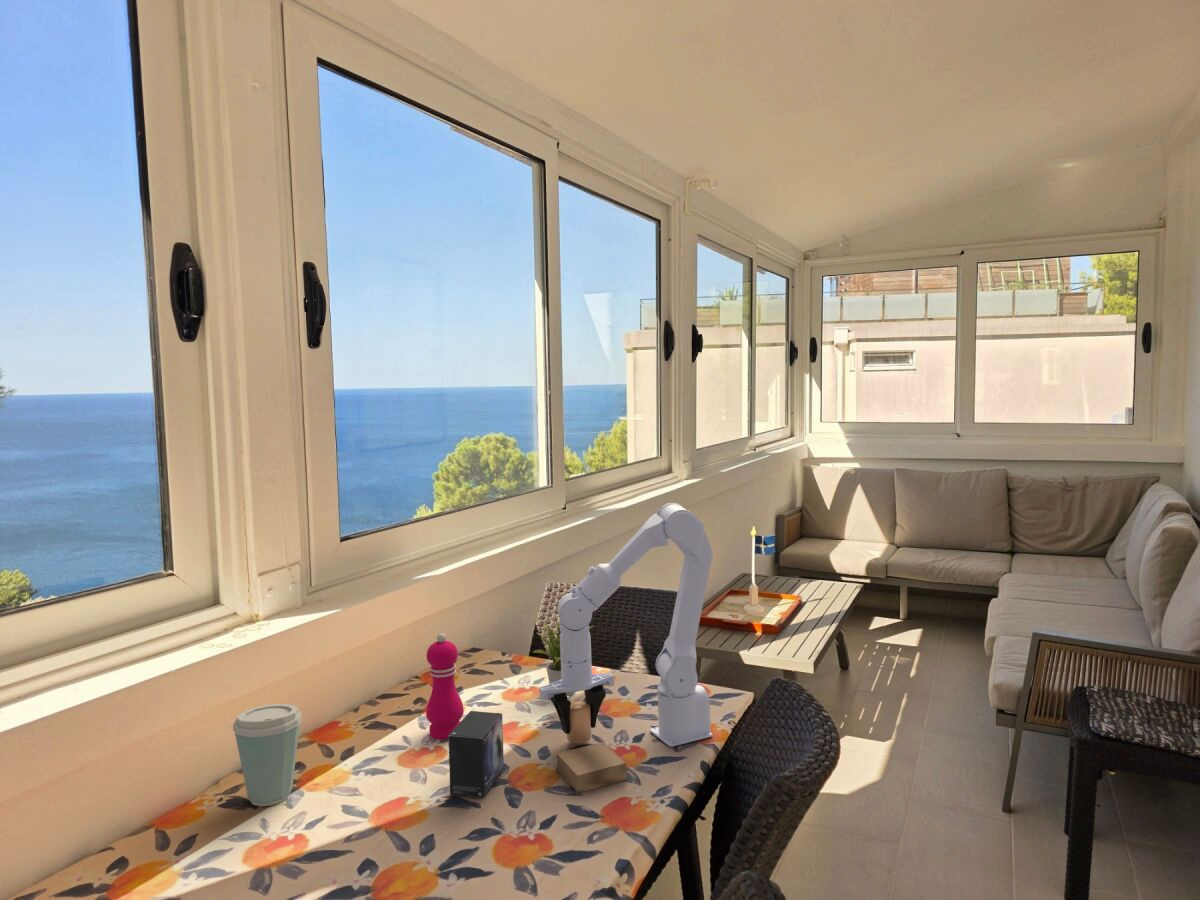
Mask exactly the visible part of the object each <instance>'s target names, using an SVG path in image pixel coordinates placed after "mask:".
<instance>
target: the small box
mask: <svg viewBox="0 0 1200 900" xmlns="http://www.w3.org/2000/svg"><path fill="white" fill-rule="evenodd" d="M460 721H461V722H460V723H459V724H458V725H457V726H456V728H455V729H454V730H453V731H452V732H451V733H450V734H449V735H448V764H449V765H448V767H449V796H452V797H465V798H476V799H485V797H486V796H487V794H488V793H489V792H490V790H491V788H492V787H493V786H494V784H495V783H496V781H497V780H498V779H499V777H500V776H501V774H502V773H503V772H504V770H505V763H504V762H505V761H504V760H505V758H504V755H505V754H504V731H503V729H504V727H503V725H504V724H503V723H504V722H503V713H499V712H486V711H479V710H470V711H469V712H468V713H467V714H466V716H465V717H463V719H462V720H460Z"/></svg>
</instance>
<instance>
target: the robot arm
mask: <svg viewBox="0 0 1200 900" xmlns="http://www.w3.org/2000/svg"><path fill="white" fill-rule="evenodd" d="M668 539H670V540H671V542H673V543H674V544H675V545H676V546H677V548H678V549H679V551H680V552H681V553H682V554H683V557H684V558H683V563H682V568H681V573H680V579H679V583H678V589H677V593H676V597H675V604H674V608H673V613H672V619H671V623H670V630H669V634H668V637H667V638H666V639H665V641H664V643H663V646H662V647H663V648H662V650H661V651H660V652H659V654H658V655H657V657H656V660H655V670H656V672H657V674H658V675H659V676H660V678H661V679H660V681H659V684H658V685H657V713H658V714H657V715H658V716H657V717H658V726H656V727H651V728H650V729H649V731H650V733H652V734H653V735H654V736H655V737H657V738H658V739H660V740H661V741H662V743H664V744H666V745H667V746H668V747H671V748H673V747H675V746H680V745H684V744H688V743H692V742H696V741H700V740H703V739H708V738H711V737H713V733H712V732H711V703H710V698H709V695H708V692H707V690H706V689H705V688H704V686H703V685H701V684H698V680H699V677H698V673H697V667H696V666H697V660H698V659H697V651H696V643H697V642H696V641H697V636H698V632H699V626H700V621H701V615H702V611H703V607H704V606H703V605H704V601H705V595H706V591H707V586H708V581H709V576H710V570H711V566H712V560H713V550H712V546H711V544H710V541H709V539H708V536H707V534H706V531H705V525H704V523H703V522H702V521H701V520H700V519H699V518H698V517H697V516H696V515H695V514H694V513H693V512H692V511H691V510H688V509H686V508H685V507H684V506H682V505H681V504H679V503H676V502H669V503H665V504H664V505H662V507H661V508H659V510H658V511H657V512H655V513H654V514H652V515H651V516H650V517H648V519H647V520H646V521H645V523H643V525H642V526H641V527H640V528H639V529H638V530H637V532H635V534H634V535H633V536H631V538H630V539H629V540H628V541H627V542H626V544H624V546H623V547H622V548H621V549H620V550H619V551H618V552H617V553H616V555H614V557H613V558H612V559H610V561H609V562H607V563H598V564H597V565H595V567H594V566H592V565H591V566H590V567H589V568H588V569H587V572H588V574H587V575H586V576H585V577H584V578H583V579H582V580H581V581H580V582H579V583H578V584H577V585H576V586H573V585H572V586H571V587H570V588H569V591H570V593H568V592H567V593H566V594H564V595H563V596H562V597H560V600H559V602H558V605H557V607H556V611H557V613H558V616H559V621H560V624H559V628H560V631H561V633H560V654H561V676H562V679H561V680H559V681H556V682H553V683H551V684H550V683H548V684H546V685H543V686H542V685H541V686H539V687H538V697H539V698H540V700H542V701H548V700H550V701H551V702H552V704H553V707H554V708H555V710H556V713H557V715H558V719H559V722H560V725H561V729H562V731H563V733H564V734H565V735H567V734H570V719H569V716H570V706H571V703H572V702H571V701H570V700H569V698H568V697H567V696H566V694H569V693H574V692H575V693H577V692H583V691H584V697H585V702H586V703H588V704H590V713H591V729H594V728H596V724H597V719H598V715H599V712H600V709H601V706H602V703H603V702H604V700H605V698H606V696H607V692H606V691H607V690H606V689H604V687H606V686H608V687H612V686H615V676H614V674H613V673H610V672H605V673H595V674H593V669H592V668H593V667H592V664H593V663H592V645H591V644H592V641H591V633H590V628H589V627H590V625H589V624H590V623H591V622H592V619H593V612H594V611H597V610H599V608H600V607H601V606H602V605H603V604H604V603H605V602H606V601H607V600H608V599H609V598H610V597H611V596H612V595H613V594H614V593H615V592H616V591H617V590H618V589H619V588H620V586H621V576H623V574H625V573H626V572H627V571H628V570H629V569H630V568H631V567H632V566H633V565H634V564H636V563H637V562H638V561H639V560H640V559H641V558H643V556H644V555H646V554H647V552H648V551H650V550H651V549H653V548H656V547H666V546H670V544H669V541H668Z"/></svg>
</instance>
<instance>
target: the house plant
mask: <svg viewBox="0 0 1200 900" xmlns="http://www.w3.org/2000/svg"><path fill="white" fill-rule="evenodd" d="M543 625H544V627H545V630H546V632H547V637H548V639H547V638H546V637H545V636H543V634H541V633H539V632H536V631H535V632H536V634H537V635H538V636H540V638H541V640H543V641H544V642H545V644H547V647H546V648H545V650H544V649H540V648H538V649H536V650H533V653H538V654H543V655H547V656H548V657H549V658H550V659H551V660H552V661H551V662H549V663H547V664H546V667H545V669H546V672H547V677H548V684H551V683H553V682H556V681H559V680H561V679H562V676H561V654H560V633H561V631H560V624H559V623H558V620H555V625H556V630H557V631H553V630H552V628H551V627H550V626H549V625H548V623H545V622H543ZM593 627H594V625H591V626H589V629H591V628H593ZM574 693H576V692H574ZM574 693H569V694H566V696H570V695H573V694H574ZM574 695H575V694H574ZM574 695H573V696H574ZM570 697H571V696H570Z"/></svg>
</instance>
